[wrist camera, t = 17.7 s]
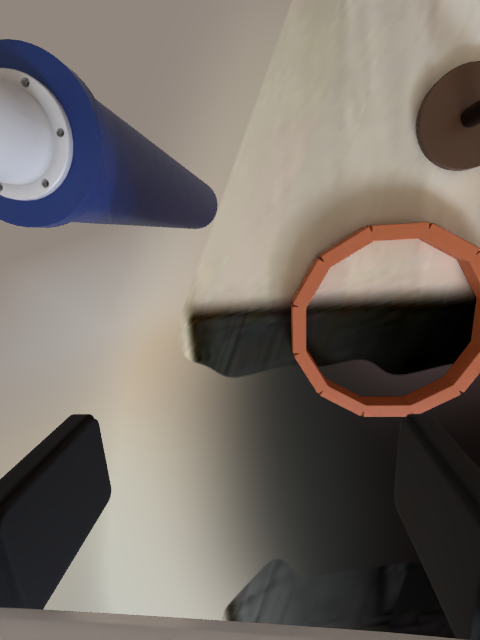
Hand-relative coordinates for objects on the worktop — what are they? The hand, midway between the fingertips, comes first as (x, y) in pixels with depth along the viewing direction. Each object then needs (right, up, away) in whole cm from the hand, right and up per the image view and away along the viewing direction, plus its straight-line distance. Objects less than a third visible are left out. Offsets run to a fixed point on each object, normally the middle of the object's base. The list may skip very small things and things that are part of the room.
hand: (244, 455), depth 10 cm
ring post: (+22, +23, +21) cm, 38 cm away
